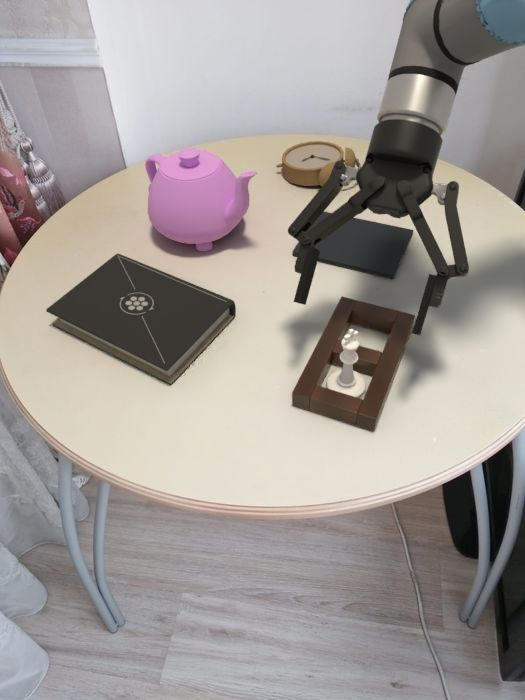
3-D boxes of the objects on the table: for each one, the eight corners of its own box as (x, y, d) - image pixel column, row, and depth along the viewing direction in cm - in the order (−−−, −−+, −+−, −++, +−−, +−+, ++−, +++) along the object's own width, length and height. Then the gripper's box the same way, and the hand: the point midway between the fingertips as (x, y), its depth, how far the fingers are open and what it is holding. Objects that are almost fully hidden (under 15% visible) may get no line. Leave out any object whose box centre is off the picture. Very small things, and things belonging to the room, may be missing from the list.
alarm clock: (301, 137, 108) (372, 142, 100) (304, 161, 111) (373, 168, 103) (268, 163, 102) (341, 170, 94) (273, 188, 105) (344, 197, 97)
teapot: (286, 225, 93) (284, 147, 83) (232, 278, 85) (223, 198, 75) (182, 191, 102) (169, 116, 92) (124, 235, 93) (103, 159, 83)
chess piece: (374, 392, 69) (383, 335, 61) (340, 409, 67) (346, 352, 60) (350, 366, 72) (356, 309, 64) (318, 382, 70) (320, 325, 63)
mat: (412, 234, 90) (413, 229, 90) (393, 279, 83) (393, 275, 82) (318, 214, 95) (319, 210, 94) (292, 255, 88) (292, 251, 87)
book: (237, 315, 79) (235, 299, 77) (171, 385, 71) (167, 370, 69) (123, 267, 88) (118, 251, 86) (52, 325, 80) (45, 309, 77)
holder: (412, 328, 76) (415, 314, 74) (374, 432, 65) (376, 419, 63) (340, 309, 79) (341, 296, 77) (292, 405, 68) (291, 392, 66)
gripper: (525, 160, 61) (468, 348, 63) (310, 125, 69) (265, 294, 71) (535, 135, 54) (470, 348, 56) (293, 100, 61) (244, 288, 63)
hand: (355, 318), depth 63 cm, fingers open, 13 cm apart
